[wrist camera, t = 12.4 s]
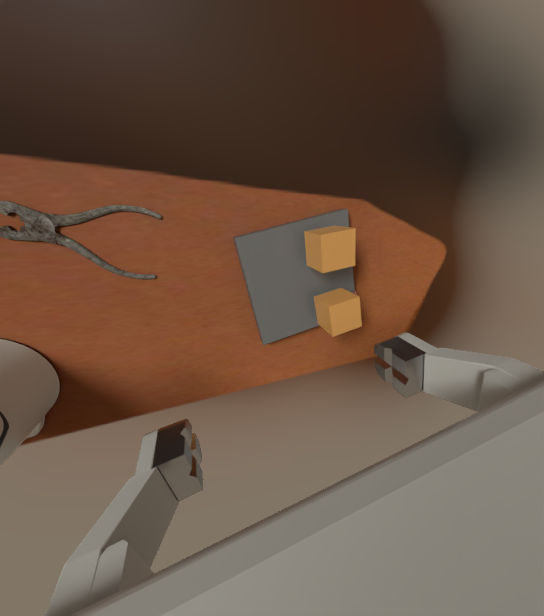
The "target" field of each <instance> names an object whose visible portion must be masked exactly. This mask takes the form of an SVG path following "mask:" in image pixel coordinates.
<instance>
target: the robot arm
mask: <svg viewBox="0 0 544 616" xmlns="http://www.w3.org/2000/svg"><path fill="white" fill-rule="evenodd" d="M374 353H375V354H376V355H377V358H376V360H375V367H376V370H377V372H378V374H379V375H380V377H381V378H382V379H383V380H385V381H386V382H389V383H393V388H394V389H395V390H396V391H397V392H399V393H400V394H401V395H402V396H403V397H405V398H407V397H409V396H412V395H414V394H417V393H419V392H421V391H423V392H425V393H428V394H431V395H434V396H436V397H439V398H442V399H444V400H447V401H450V402H453V403H455V404H458V405H461V406H463V407H466V408H469V409H472V410H474V411H477V413H475V414H473V415H471V416H470V417H467V418H465V419H463V420H461V421H459V422H457V423H455V424H453V425H451V426H449V427H447V428H445V429H443V430H441V431H439V432H437V433H435V434H433V435H431V436H429V437H427V438H425V439H423V440H421V441H419V442H417V443H415V444H413V445H412V446H409V447H407V448H405V449H403V450H401V451H399V452H397V453H395V454H394V455H391V456H389V457H388V458H385V459H383V460H381V461H379V462H377V463H375V464H373V465H371V466H369V467H367V468H365V469H363V470H361V471H359V472H357V473H355V474H353V475H351V476H349V477H347V478H345V479H343V480H341V481H339V482H337V483H335V484H333V485H331V486H329V487H327V488H325V489H323V490H321V491H319V492H317V493H315V494H313V495H311V496H309V497H307V498H305V499H303V500H301V501H299V502H297V503H295V504H293V505H291V506H289V507H287V508H285V509H283V510H281V511H279V512H277V513H275V514H273V515H271V516H269V517H267V518H265V519H263V520H261V521H259V522H257V523H255V524H253V525H251V526H249V527H247V528H245V529H243V530H241V531H239V532H237V533H235V534H233V535H231V536H229V537H227V538H225V539H223V540H221V541H219V542H217V543H215V544H213V545H211V546H209V547H207V548H205V549H203V550H201V551H199V552H197V553H195V554H193V555H191V556H189V557H187V558H185V559H183V560H181V561H179V562H177V563H175V564H173V565H171V566H169V567H167V568H165V569H163V570H161V571H159V572H157V573H155V574H154V573H153V572H152V571H151V569H150V567H151V565H152V563H153V560H154V558H155V556H156V554H157V551H158V549H159V547H160V544H161V542H162V540H163V538H164V535H165V533H166V531H167V528H168V526H169V524H170V522H171V520H172V517H173V515H174V513H175V510H176V508H177V506H178V504H179V503H178V502H179V501H181V500H183V499H185V498H187V497H189V496H191V495H193V494H195V493H197V492H200V491H202V490H203V478H202V470H201V468H200V466H199V465H200V463H201V461H202V456H201V449H200V444H199V441H198V439H197V437H196V434H193V433H192V430H191V429H192V427H191V424H190V422H189V420H188V419H185V420H182V421H179V422H176V423H174V424H171V425H168V426H166V427H163V428H160V429H158V430H155V431H153V432H150V433H147V434H145V435H144V437H143V439H142V444H141V449H140V453H139V457H138V462H137V467H136V471H135V476H134V477H131V478H130V479H129V480H128V481H127V483H126V484H125V485H124V487H123V488H122V489H121V491H120V492H119V493H118V494H117V496H116V497H115V498H114V500H113V501H112V502H111V504H110V505H109V506H108V508H107V509H106V510H105V512H104V513H103V514H102V516H101V517H100V518H99V520H98V521H97V522H96V524H95V525H94V526H93V528H92V529H91V530H90V532H89V533H88V534H87V536H86V537H85V538H84V540H83V541H82V542H81V543H80V545H79V546H78V548H77V549H76V550H75V552H74V553H73V554H72V555H71V557H70V558H69V559H68V561H67V562H66V563H65V565H64V567H63V569H62V572H61V575H60V578H59V581H58V583H57V586H56V589H55V591H54V594H53V597H52V599H51V602H50V605H49V608H48V610H47V613H46V616H544V371H541V370H539V369H536V368H534V367H532V366H530V365H528V364H525V363H523V362H521V361H519V360H516V359H514V358H508V357H501V356H495V355H488V354H482V353H475V352H468V351H461V350H455V349H448V348H436V347H434V346H432V345H430V344H428V343H426V342H425V341H423V340H421V339H419V338H417V337H415V336H413V335H411V334H409V333H402V334H400V335H397V336H395V337H393V338H391V339H388V340H386V341H383V342H381V343H378V344H376V345H375V347H374ZM59 391H60V383H59V378H58V376H57V373H56V371H55V370H54V368H53V367H52V365H51V364H50V363H49V362H48V361H47V360H46V359H45V358H44V357H43V356H41V355H40V354H39V353H37V352H36V351H34V350H32V349H30V348H28V347H26V346H24V345H21V344H18V343H15V342H12V341H8V340H3V339H0V466H1V465H2V464H3V463H4V462H5V461H6V460H7V459H8V458H9V457H10V455H11V454H12V453H13V452H14V451H15V450H16V449H17V448H18V447H19V446H20V445H21V443H22V442H23V441H24V440H25V439H26V438H29V437H33V436H35V435H37V434H38V433H39V432H40V431H41V429H42V428H43V426H44V421H45V415H46V414H47V412H48V411H49V410H50V409H51V407H52V406H53V405H54V404H55V402H56V400H57V398H58V395H59Z"/></svg>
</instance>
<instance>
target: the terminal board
mask: <svg viewBox="0 0 544 616" xmlns="http://www.w3.org/2000/svg"><path fill="white" fill-rule="evenodd" d="M335 225H336V226H344V227H349V219H348V209H339V210H335V211H331V212H328V213H324V214H320V215H316V216H312V217H308V218H305V219H301V220H297V221H293V222H289V223H286V224H282V225H278V226H274V227H270V228H266V229H263V230H259V231H255V232H251V233H247V234H243V235H240V236H236V237H233V239H234V243H235V246H236V250H237V254H238V257H239V261H240V265H241V268H242V272H243V276H244V279H245V283H246V287H247V290H248V294H249V298H250V301H251V305H252V309H253V312H254V316H255V320H256V323H257V327H258V331H259V334H260V338H261V341H262V343H263V344H264V345H265V344H268V343H271V342H274V341H276V340H279V339H282V338H285V337H288V336H291V335H294V334H296V333H299V332H302V331H305V330H308V329H311V328H314V327H316V326H319V325H320V326H321V327H322V328H323V329H324V330H326V331H327V332H328V333H329V334H330V335H331V336H332V337H334V336H337V335H339V334H342V333H345V332H348V331H350V330H353V329H356V328H359V327H361V326H362V321H361V308H360V297H359V296H357V292H356V291H355V287H354V276H353V266H351V267H347V268H343V269H339V270H334V271H330V272H326V273H321V272H319V271H317V270H315V269H313V268H311V267H309V266H307V261H306V249H305V236H304V231H308V230H314V229H319V228H324V227H329V226H335Z"/></svg>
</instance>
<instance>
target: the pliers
mask: <svg viewBox="0 0 544 616" xmlns="http://www.w3.org/2000/svg"><path fill="white" fill-rule="evenodd" d="M118 211H132V212H139V213H143V214H147V215H150V216H152V217H155V218H158V219H161V218H162V216H161V215H159V214H157V213H155V212H153V211H150V210H147V209H144V208H140V207H135V206H128V205H111V206H105V207H101V208H97V209H93V210H89V211H85V212H82V213H77V214H71V215H56V214H47V213H42V212H39V211H36V210H33V209H31V208H28V207H25V206H22V205H19V204H16V203H13V202H10V201H0V213H2V214H4V215H10V214H11V213H12V212H15V213H16V214H18V215H19V216H20V219H21V220H22V221H25V226H21V229H20V231H15V230H13V229H12V227H11V226H3V227H1V228H0V236H1V237H4V238H7V239H10V240H30V241H45V242H49V243H53V244H59V245H62V246H66V247H68V248H70V249H72V250H74V251H76V252H78V253H79V254H81V255H83V256H84V257H86V258H88V259H89V260H91V261H93V262H94V263H96V264H97V265H99V266H101V267H102V268H104V269H106V270H108V271H110V272H113V273H115V274H118V275H122V276H125V277H130V278H136V279H155V278H156V275H143V274H135V273H130V272H126V271H123V270H120V269H118V268H116V267H113V266H112V265H110V264H108V263H107V262H105V261H104V260H102V259H101V258H99V257H98V256H96V255H95V254H93V253H92V252H91V251H89V250H88V249H87V248H85V247H84V246H82V245H81V244H79V243H78V242H76V241H74V240H72V239H70V238H68V237H66V236H64V235H62V234H59V233H58V232H56V228H57V226H66V225H73V224H78V223H81V222H85V221H88V220H90V219H93V218H96V217H99V216H102V215H105V214H108V213H112V212H118Z"/></svg>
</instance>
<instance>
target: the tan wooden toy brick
mask: <svg viewBox="0 0 544 616" xmlns="http://www.w3.org/2000/svg"><path fill="white" fill-rule="evenodd" d="M304 236H305V249H306V261H307V266H309V267H311V268H313V269H315V270H317V271H319V272H321V273H326V272H330V271H334V270H339V269H343V268H347V267H351V266H355V228H351V227H344V226H336V225H335V226H329V227H324V228H319V229H314V230H308V231H304Z"/></svg>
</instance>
